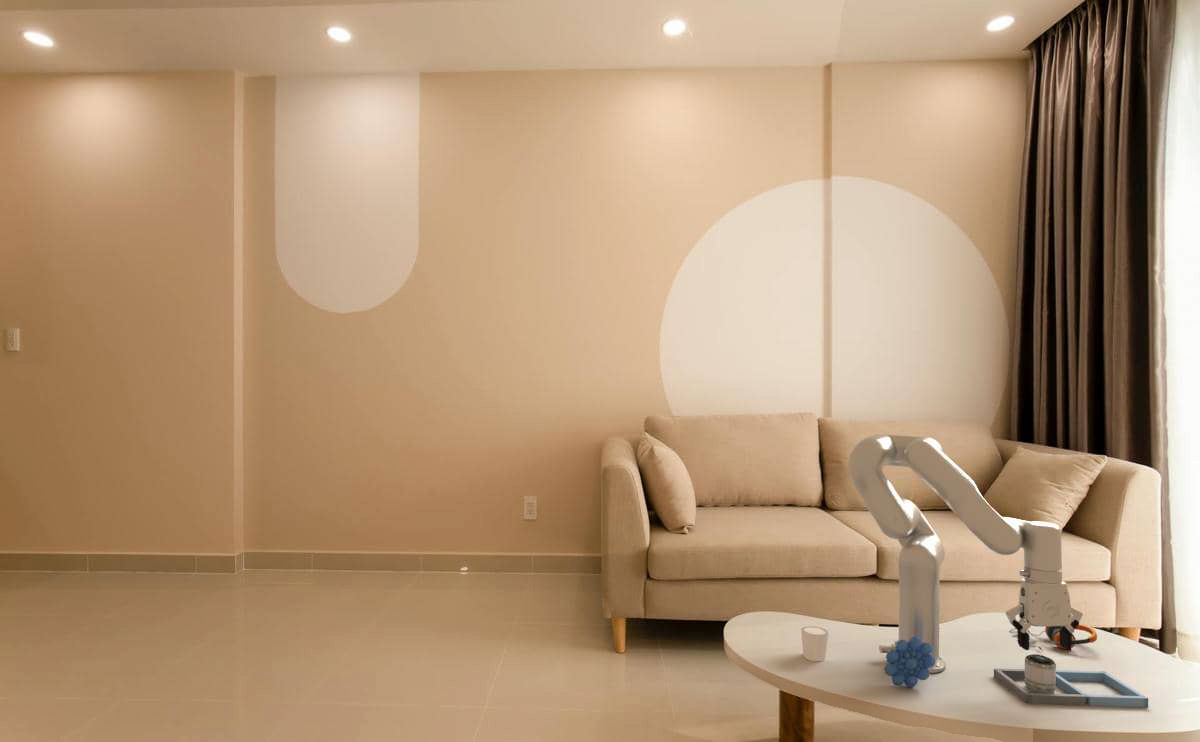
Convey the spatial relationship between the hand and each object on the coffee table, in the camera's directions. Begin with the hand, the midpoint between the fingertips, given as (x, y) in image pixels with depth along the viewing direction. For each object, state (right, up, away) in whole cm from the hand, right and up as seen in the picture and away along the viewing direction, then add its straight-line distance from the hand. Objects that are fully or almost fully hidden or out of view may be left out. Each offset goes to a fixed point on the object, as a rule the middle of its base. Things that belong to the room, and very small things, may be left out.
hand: (1044, 648), depth 164 cm
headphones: (+21, -11, +30) cm, 38 cm away
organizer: (+6, -10, 0) cm, 12 cm away
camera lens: (-1, -11, +1) cm, 11 cm away
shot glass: (-49, -10, +18) cm, 53 cm away
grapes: (-31, -10, +2) cm, 33 cm away
